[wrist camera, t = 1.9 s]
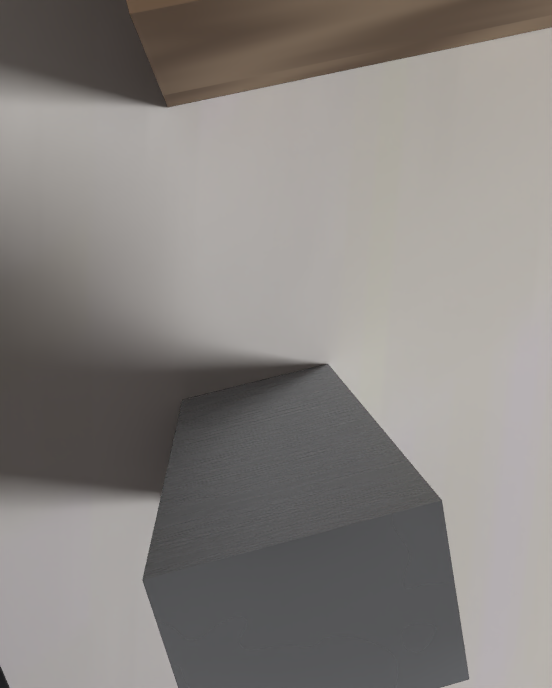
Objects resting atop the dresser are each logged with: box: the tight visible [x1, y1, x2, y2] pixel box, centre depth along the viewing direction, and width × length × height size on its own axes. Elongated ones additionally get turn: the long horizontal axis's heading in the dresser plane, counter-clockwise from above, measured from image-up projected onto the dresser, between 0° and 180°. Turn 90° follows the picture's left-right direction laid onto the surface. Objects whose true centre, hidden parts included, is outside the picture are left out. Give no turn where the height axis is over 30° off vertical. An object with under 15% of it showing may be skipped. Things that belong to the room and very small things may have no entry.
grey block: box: [143, 364, 469, 688], centre depth 11 cm, size 4×6×7 cm, turn 12°
